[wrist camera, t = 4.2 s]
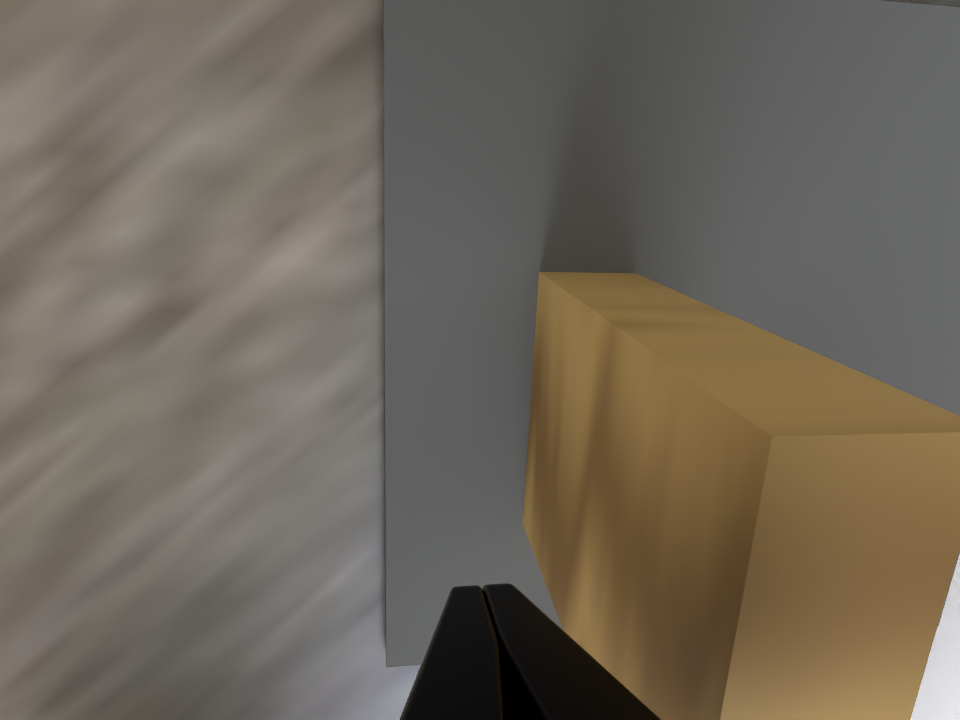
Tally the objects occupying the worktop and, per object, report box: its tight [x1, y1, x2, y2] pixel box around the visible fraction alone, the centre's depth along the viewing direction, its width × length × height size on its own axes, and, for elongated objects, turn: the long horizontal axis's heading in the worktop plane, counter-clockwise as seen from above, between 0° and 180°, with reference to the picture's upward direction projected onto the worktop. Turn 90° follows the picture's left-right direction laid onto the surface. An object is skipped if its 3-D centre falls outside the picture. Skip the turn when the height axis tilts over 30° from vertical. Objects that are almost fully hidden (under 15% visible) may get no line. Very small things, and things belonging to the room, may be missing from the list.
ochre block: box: [523, 272, 960, 720], centre depth 12 cm, size 7×2×10 cm, turn 177°
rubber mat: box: [383, 0, 960, 667], centre depth 18 cm, size 18×18×1 cm
